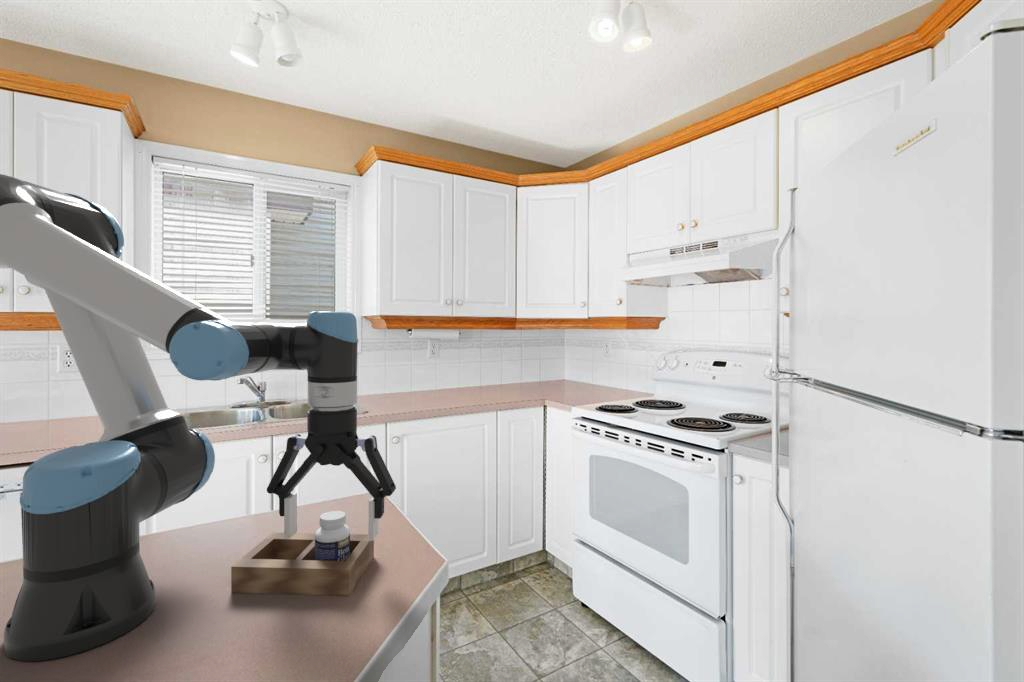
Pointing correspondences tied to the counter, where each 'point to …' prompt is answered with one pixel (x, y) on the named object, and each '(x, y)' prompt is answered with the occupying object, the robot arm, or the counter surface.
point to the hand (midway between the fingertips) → (331, 536)
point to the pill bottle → (332, 537)
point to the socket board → (299, 567)
